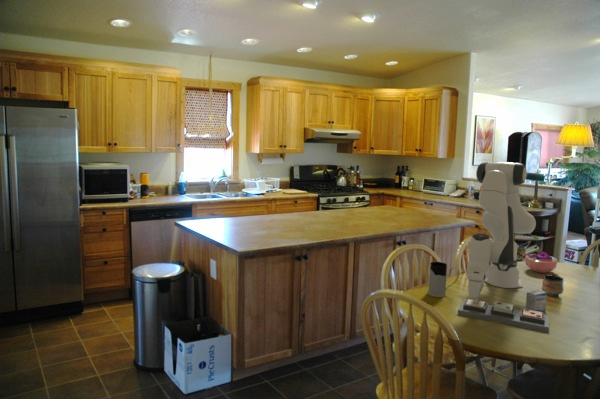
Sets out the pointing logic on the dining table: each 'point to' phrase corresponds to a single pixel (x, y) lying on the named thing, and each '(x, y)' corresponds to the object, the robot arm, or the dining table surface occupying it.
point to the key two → (503, 307)
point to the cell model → (541, 262)
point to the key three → (532, 314)
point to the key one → (479, 304)
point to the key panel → (505, 316)
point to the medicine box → (536, 301)
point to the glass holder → (438, 279)
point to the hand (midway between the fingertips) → (475, 302)
